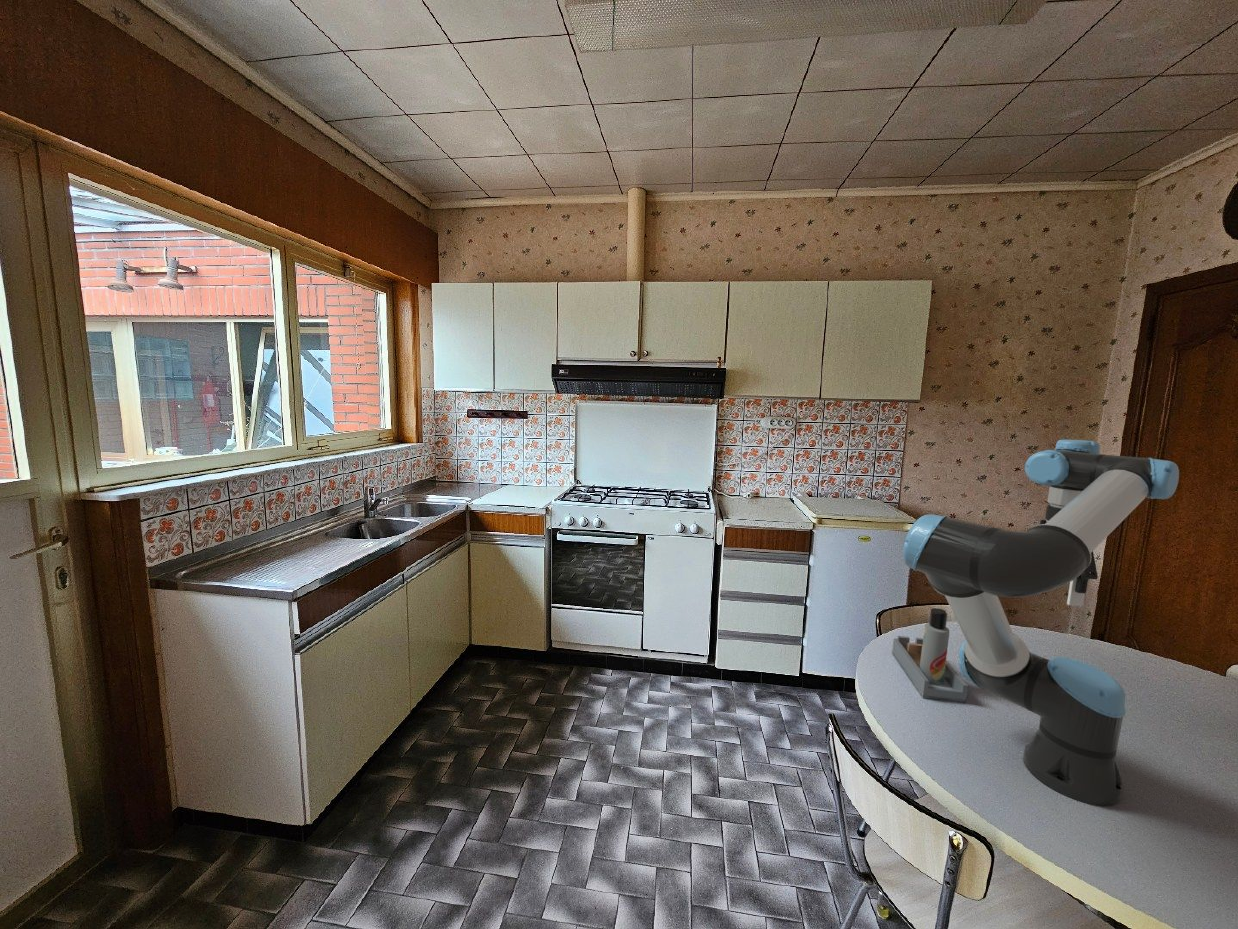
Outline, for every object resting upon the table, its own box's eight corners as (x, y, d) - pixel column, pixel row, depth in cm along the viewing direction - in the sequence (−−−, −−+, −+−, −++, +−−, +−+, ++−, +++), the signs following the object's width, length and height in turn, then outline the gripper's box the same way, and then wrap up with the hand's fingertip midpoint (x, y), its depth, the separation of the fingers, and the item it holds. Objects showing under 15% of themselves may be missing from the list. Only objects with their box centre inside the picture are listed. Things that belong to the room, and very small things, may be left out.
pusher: (935, 667, 142) (937, 647, 141) (907, 664, 143) (909, 644, 142) (924, 654, 149) (927, 635, 148) (898, 651, 150) (900, 633, 149)
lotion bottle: (947, 685, 133) (956, 615, 131) (926, 685, 134) (935, 614, 131) (934, 674, 139) (943, 606, 136) (914, 673, 139) (922, 605, 136)
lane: (965, 704, 127) (968, 682, 127) (922, 698, 129) (925, 677, 128) (928, 657, 150) (930, 639, 149) (892, 653, 152) (894, 635, 151)
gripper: (1130, 520, 103) (1113, 617, 106) (1051, 496, 127) (1039, 576, 130) (1088, 518, 104) (1073, 614, 107) (1018, 495, 129) (1007, 573, 132)
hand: (1054, 593), depth 119 cm, fingers open, 13 cm apart
